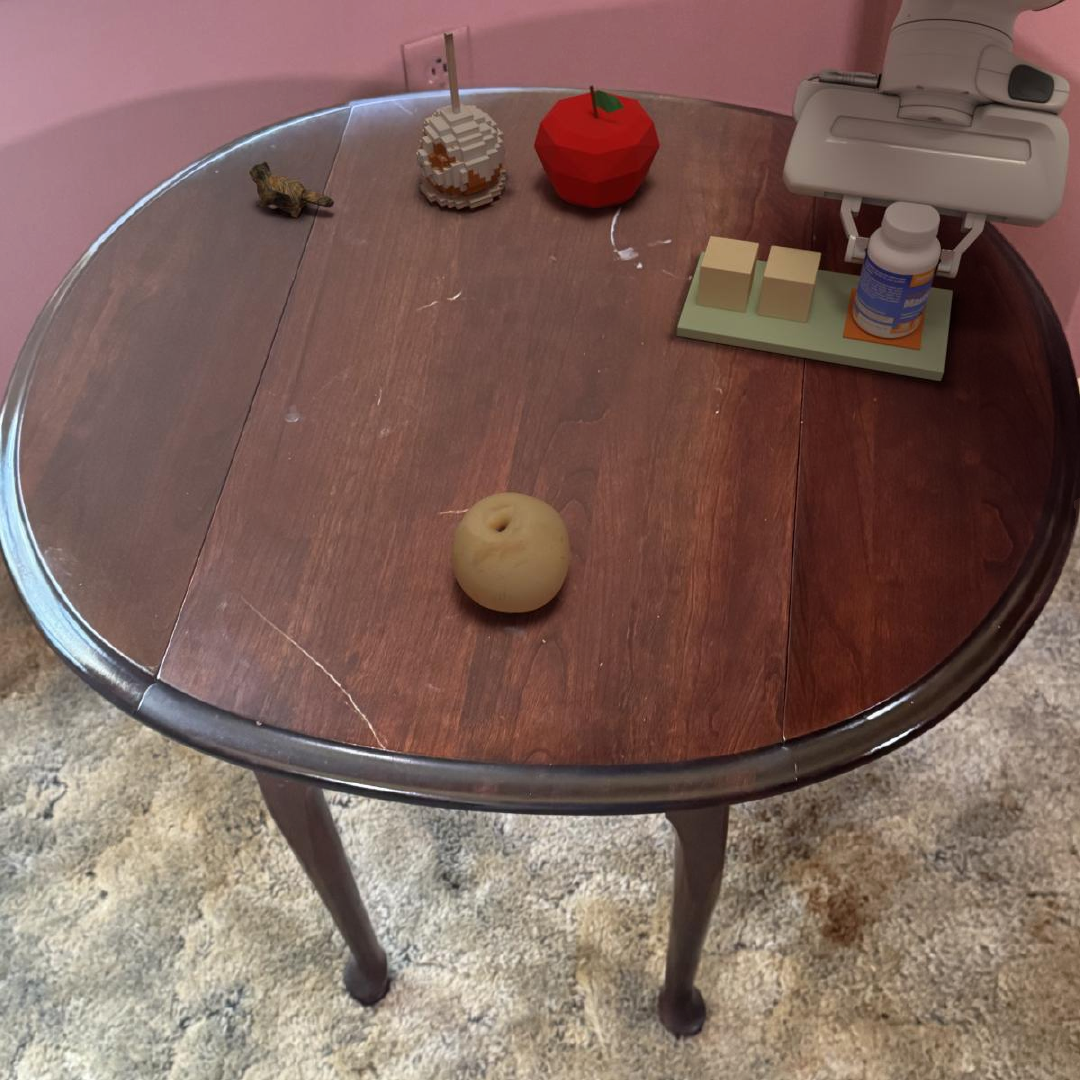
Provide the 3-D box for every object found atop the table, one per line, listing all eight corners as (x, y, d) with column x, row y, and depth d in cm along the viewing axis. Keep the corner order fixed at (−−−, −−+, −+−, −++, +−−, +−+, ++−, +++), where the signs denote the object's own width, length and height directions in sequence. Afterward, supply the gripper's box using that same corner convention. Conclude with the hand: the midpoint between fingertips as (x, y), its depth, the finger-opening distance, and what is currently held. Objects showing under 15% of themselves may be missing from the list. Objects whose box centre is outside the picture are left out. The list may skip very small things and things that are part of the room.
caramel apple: (409, 179, 105) (386, 25, 93) (482, 155, 107) (469, 0, 95) (444, 223, 101) (425, 66, 89) (520, 196, 103) (511, 40, 91)
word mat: (949, 299, 92) (966, 250, 88) (940, 381, 87) (957, 333, 83) (700, 260, 97) (705, 211, 93) (676, 336, 91) (680, 287, 87)
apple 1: (589, 618, 74) (533, 587, 67) (486, 629, 77) (424, 600, 71) (591, 508, 76) (538, 468, 70) (492, 523, 80) (432, 487, 74)
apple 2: (515, 187, 104) (510, 88, 96) (597, 141, 108) (598, 42, 100) (594, 238, 99) (595, 137, 91) (677, 187, 103) (684, 87, 95)
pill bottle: (904, 349, 87) (935, 247, 80) (840, 325, 89) (864, 224, 81) (930, 309, 90) (962, 207, 82) (866, 287, 92) (892, 185, 84)
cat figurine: (257, 191, 104) (255, 154, 101) (338, 217, 104) (338, 182, 101) (245, 208, 103) (242, 172, 99) (326, 235, 102) (327, 200, 99)
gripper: (801, 51, 82) (762, 241, 84) (1094, 86, 78) (1046, 285, 80) (801, 77, 88) (764, 253, 90) (1073, 110, 84) (1028, 294, 86)
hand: (899, 269), depth 85 cm, fingers closed on pill bottle, 5 cm apart
